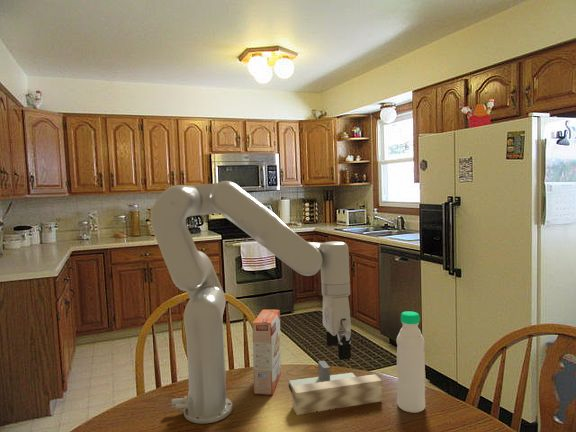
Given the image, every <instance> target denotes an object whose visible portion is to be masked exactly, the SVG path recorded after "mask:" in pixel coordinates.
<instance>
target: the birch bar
mask: <svg viewBox="0 0 576 432" xmlns="http://www.w3.org/2000/svg"><path fill="white" fill-rule="evenodd" d="M291 393H292V394H291V395H292V396H291V397H292V409H293V410H294V413H295V414H296V416H299V415H304V414H312V413H317V412H316V411H318V412H323V411H328V410H329V409H330V410H336V409H335V408H337V409H341V408H342V409H343V408H347V407H353V406H355V407H356V406H360V405H365V404H367V405H368V404H371V403H378V402H383V379H381V378H380V377H379V376H378V375H377V374H376V373H374V374H369V375H368V374H367V375H366V374H365V375H361V376H356V377H352V378H345V379H338V380H332V381H325V382H318V383H311V384H304V385H297V386H292V388H291ZM330 410H329V411H330Z"/></svg>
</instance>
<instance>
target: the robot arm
mask: <svg viewBox="0 0 576 432" xmlns="http://www.w3.org/2000/svg"><path fill="white" fill-rule="evenodd" d="M153 203H154V204H153V205H152V208H151V212H150V224H151V225H150V226H151V229H152V232H153V235H154V237H155V240H156V243H157V244H158V247H159V249H160V253H161V256H162V258H163V260H164V263H165V265H166V267H167V270H168V273H169V275H170V278H171V281H172V284H174V285H175V287H176V288H177V289H179V290H180V291H183V292H186V293H187V295H188V297H189V300H188V302H187V303H186V305H185V308H184V313H183V323H184V331H185V337H186V338H185V339H186V354H187V355H186V356H187V372H188V374H187V375H188V376H187V379H188V392H187V395H184V396H183V397H180V398H179V397H177V398H172V399H171V408H173V407H175V410H176V411H180V410H183V416H184V418H185V419H186V420H187V421H189V422H191V423H194V424H201V425H202V424H212V423H216V422H219V421H221V420H223V419H225V418H227V417H228V416H229V415H230V414H231V413H232V411H233V402H232V401H231V400H230V399H229V398H227V385H226V383H227V382H226V380H227V379H226V359H225V356H226V355H225V339H224V338H225V337H224V326H223V323H224V322H223V321H224V320H223V315H224V311H225V308H226V303H227V301H226V294H225V292H224V290H223V287H222V285H221V283H220V280H219V277H218V275H217V272H216V270H215V267H214V265H213V263H212V261H211V259H210V258H209V256H208V255H207V254H206V253H204V252H203V251H201V250H198V249H197V247H196V244H195V242H194V239H193V236H192V233H191V232H190V230H189V228H188V227H187V226H188V225H187V222H186V221H187V218H189V217H194V216H204V215H214V214H220V215H222V216H223V217H224V218H225V219H226V220H228V221H230V222H231V223H233V224H234V225H235V226H237V228H239V229H241V230H242V231H243V232H245V234H247V235H248V236H250V237H251V238H252V239H253V240H255V241H256V242H257V243H258V244H259V245H260V246H262V247H264V248H265V249H266V250H268V251H269V252H270V253H271V254H272V255H274V256H275V257H276V258H278V259H279V260H280V261H281V262H283V263H284V264H286V265H287V266H288V267H289V268H291V269H292V270H293V271H295V272H296V273H298V274H299V275H302V276H307V277H309V276H314V275H315V274H317V273H318V272H320V282H321V295H322V325H323V327H324V329H325V330H326V331H325V333H326V334H325V335H326V336H325V338H326V346H327V347H334V346H337V351H338V352H337V353H338V355H337V357H338V360H339V361H345V360H350V359H352V349H351V343H352V329H351V323H352V322H351V313H350V312H351V309H350V301H349V296H350V295H351V282H350V281H351V280H350V279H351V277H350V256H349V255H350V254H349V253H350V252H349V246H348V244H347V243H346V242H343V241H336V240H335V241H325V242H314V241H313V242H311V241H307V240H305V239H304V238H303V237H301V236H300V235H299V234H297V233H296V232H295V231H294V230H292V229H291V228H290V227H289V226H287V224H286V223H284V222H283V220H281V219H280V217H279V216H278V215H277V214H276V213H274V211H272V210H271V209H270V208H269V207H267V206H266V205H264V204H263V203H262V202H261V201H258V200H257V198H255V197H253V196H252V195H251V194H250V193H248V192H247V191H246V190H244V189H243V188H242V187H240V185H238V184H237V183H235V182H233V181H230V180H222V181H219V182H216V183H207V184H205V183H204V184H193V185H184V184H177V185H173V186H170V187H168V188H166V189H165V190H163V191H162V192H161V194H159V196H158V197H157V198H156V199H155V201H154V202H153Z"/></svg>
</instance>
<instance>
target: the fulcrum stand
mask: <svg viewBox="0 0 576 432" xmlns="http://www.w3.org/2000/svg"><path fill="white" fill-rule="evenodd" d="M317 363H318V376H315V377H307V378H300V379H299V378H298V379H292V380H291V379H290V380H288V383H289V386H290V388H291V389H292V386H297V385H304V384H311V383H318V382H325V381H332V380H338V379H345V378H352V377H357V375H355V374H354V373H353V372H348V373H347V372H345V373H338V374H331V371H330V370H331V369H330V368H331V366H330V365H329V364H328V363H327V362H326V361H325V360H319V361H318V362H317Z"/></svg>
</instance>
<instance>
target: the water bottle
mask: <svg viewBox="0 0 576 432" xmlns="http://www.w3.org/2000/svg"><path fill="white" fill-rule="evenodd" d="M420 320H421V317H420V314H419V313H418V312H415V311H403V312H401V314H400V323H401V324H402V327H401V328H400V330H399V332H398V335H397V336H396V345H397V346H396V374H397V375H396V376H397V381H396V386H397V388H396V389H397V395H396V397H397V398H396V399H397V400H396V401H397V406H398V408H399V409H401V410H402V411H404V412H407V413H410V414H411V413H413V414H416V413H417V414H418V413H420V412H421V413H422V411H424V410H425V408H426V395H425V393H426V384H425V377H426V376H425V374H426V364H425V363H426V358H425V343H426V342H425V338H424V336H423V334H422V331H421V329H420V328H419V324H420Z"/></svg>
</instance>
